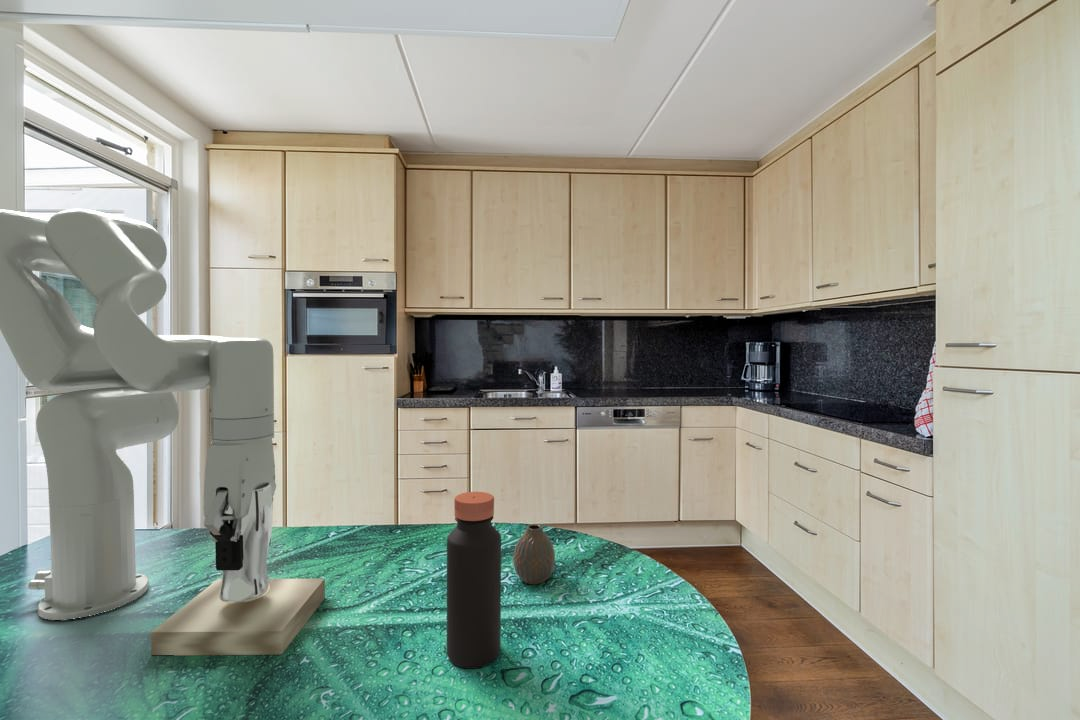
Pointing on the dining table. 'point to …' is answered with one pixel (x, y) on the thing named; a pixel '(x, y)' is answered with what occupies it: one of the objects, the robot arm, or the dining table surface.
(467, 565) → the bottle
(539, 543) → the vase
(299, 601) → the plate
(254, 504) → the beer glass
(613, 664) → the dining table surface
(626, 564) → the dining table surface
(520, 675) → the dining table surface
